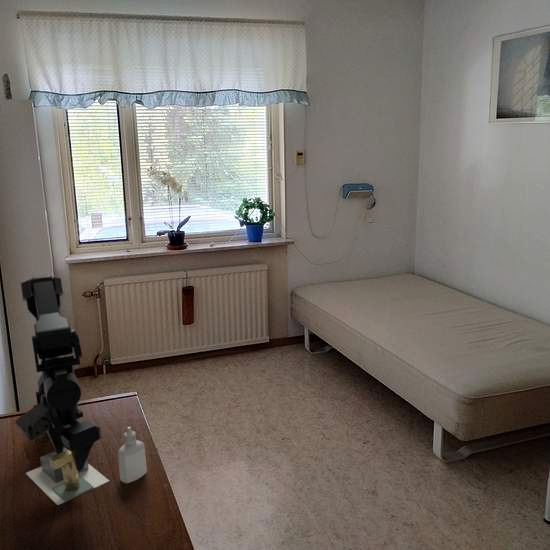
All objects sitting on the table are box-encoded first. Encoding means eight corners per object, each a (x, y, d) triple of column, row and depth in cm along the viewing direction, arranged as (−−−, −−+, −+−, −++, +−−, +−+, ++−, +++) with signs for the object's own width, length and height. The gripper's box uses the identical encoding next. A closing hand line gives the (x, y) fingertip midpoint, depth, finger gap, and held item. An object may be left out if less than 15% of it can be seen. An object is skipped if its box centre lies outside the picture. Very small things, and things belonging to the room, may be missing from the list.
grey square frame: (41, 469, 120) (39, 457, 120) (73, 456, 125) (72, 444, 124) (55, 483, 115) (54, 470, 115) (88, 468, 120) (87, 456, 119)
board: (26, 477, 120) (25, 473, 119) (75, 456, 127) (74, 452, 127) (58, 509, 108) (57, 505, 108) (110, 485, 116) (109, 480, 116)
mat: (52, 489, 113) (51, 487, 113) (80, 476, 117) (80, 475, 117) (65, 501, 109) (64, 500, 109) (93, 488, 113) (93, 486, 113)
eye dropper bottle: (149, 481, 116) (144, 429, 114) (121, 488, 114) (116, 435, 112) (145, 471, 120) (141, 420, 118) (119, 477, 118) (113, 425, 116)
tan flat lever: (84, 477, 116) (78, 443, 114) (90, 482, 114) (85, 448, 113) (54, 491, 112) (48, 457, 110) (60, 497, 110) (54, 462, 108)
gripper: (-1, 388, 109) (10, 460, 113) (38, 419, 96) (49, 499, 100) (55, 371, 117) (63, 439, 120) (98, 397, 104) (106, 472, 107)
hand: (69, 461), depth 112 cm, fingers open, 9 cm apart
